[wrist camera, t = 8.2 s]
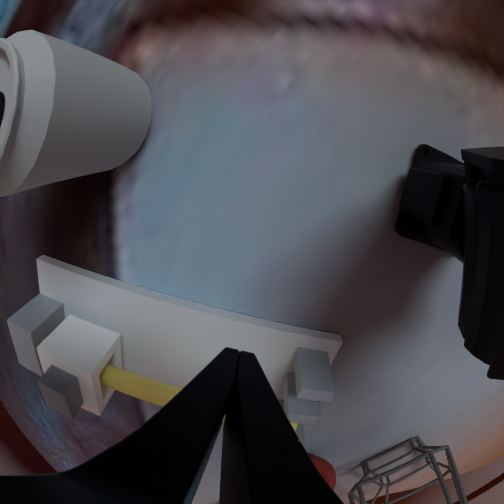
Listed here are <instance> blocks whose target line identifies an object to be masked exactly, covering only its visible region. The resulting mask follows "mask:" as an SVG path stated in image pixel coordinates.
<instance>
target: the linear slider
mask: <svg viewBox="0 0 504 504" xmlns="http://www.w3.org/2000/svg"><path fill="white" fill-rule="evenodd" d="M37 269H38V279H39V288H40V294H39V295H37V296H36V297H35V298H34V299H32V300H31V301H30V302H28V303H27V304H26V305H25V306H23V307H22V308H21V309H20V310H18V311H17V312H16V313H15V314H14V315H12V316H11V317H10V318H9V319H8V320H7V322H8V326H9V330H10V333H11V337H12V340H13V344H14V347H15V350H16V353H17V357H18V360H19V363H20V364H21V365H23V366H24V367H26V368H28V369H29V370H31V371H33V372H34V373H36V374H38V375H40V376H41V377H42V376H43V374H44V372H43V369H42V366H41V362H40V359H39V355H38V352H37V347H38V346H39V345H40V344H41V343H42V342H43V341H44V340H45V339H46V338H47V337H48V336H49V335H50V334H51V333H52V332H53V331H54V330H55V329H56V328H57V327H58V326H59V325H60V324H61V323H62V322H63V321H64V320H65V319H66V318H67V317H68V316H69V315H73V316H75V317H77V318H80V319H82V320H85V321H87V322H90V323H92V324H95V325H98V326H100V327H103V328H106V329H108V330H111V331H114V332H116V333H119V334H120V336H121V359H122V369H120V368H118V367H115V366H112V365H110V364H106V366H105V367H104V368H103V370H102V371H101V373H100V374H99V379H100V384H102V385H104V386H107V387H109V388H112V389H114V390H117V391H119V392H122V393H125V394H127V395H130V396H133V397H135V398H138V399H141V400H144V401H147V402H150V403H153V404H156V405H159V406H162V407H163V406H164V405H165V404H166V403H168V402H169V401H170V400H171V399H172V398H173V397H174V396H175V395H176V394H177V393H178V392H179V391H180V390H181V389H183V388H184V387H185V386H186V385H187V384H188V383H189V382H190V381H191V380H192V379H193V378H194V377H195V376H196V375H197V374H198V373H199V372H200V371H201V370H202V369H203V368H205V367H206V366H207V365H208V364H209V363H210V362H211V361H212V360H213V359H214V358H215V357H216V356H217V355H218V354H219V353H220V352H221V351H222V350H223V349H224V348H225V347H229V348H234V349H238V350H239V353H240V351H247V352H251V353H254V354H255V356H256V358H257V360H258V362H259V364H260V365H261V367H262V369H263V371H264V373H265V375H266V377H267V379H268V381H269V383H270V385H271V387H272V389H273V391H274V393H275V395H276V397H277V399H278V401H279V402H280V404H281V406H282V408H283V410H284V412H285V414H286V416H287V418H288V419H289V421H290V423H291V425H292V427H293V429H294V431H295V432H296V434H297V436H298V438H299V440H298V441H301V443H302V444H303V443H304V428H303V424H310V425H316V424H317V423H318V421H319V420H320V418H321V413H320V405H319V401H322V402H331V401H332V399H333V398H334V396H335V394H336V388H335V383H334V379H333V374H332V369H331V364H332V362H333V360H334V358H335V356H336V354H337V352H338V350H339V348H340V346H341V344H342V339H341V336H340V335H339V334H333V333H328V332H323V331H317V330H312V329H307V328H302V327H297V326H292V325H288V324H283V323H278V322H274V321H269V320H265V319H260V318H256V317H252V316H247V315H243V314H239V313H235V312H231V311H227V310H222V309H218V308H215V307H211V306H207V305H203V304H199V303H195V302H191V301H188V300H184V299H180V298H177V297H173V296H170V295H166V294H162V293H159V292H156V291H152V290H149V289H145V288H142V287H139V286H135V285H132V284H129V283H125V282H122V281H119V280H116V279H113V278H110V277H106V276H103V275H100V274H97V273H94V272H91V271H88V270H85V269H82V268H79V267H76V266H73V265H71V264H68V263H65V262H62V261H59V260H56V259H54V258H51V257H48V256H45V255H42V256H40V257H39V258H37ZM224 417H225V416H224ZM223 423H224V419H223Z"/></svg>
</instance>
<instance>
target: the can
mask: <svg viewBox="0 0 504 504" xmlns="http://www.w3.org/2000/svg"><path fill="white" fill-rule="evenodd" d="M151 116H152V100H151V97H150V93H149V90H148V86H147V85H146V84H145V82H144V81H143V80H142V78H141V77H140V76H139V74H137V73H135V72H134V71H132V70H130V69H128V68H126V67H124V66H122V65H120V64H118V63H116V62H113V61H111V60H109V59H107V58H104V57H102V56H100V55H97V54H95V53H93V52H90V51H88V50H85V49H83V48H80V47H78V46H75V45H73V44H70V43H68V42H65V41H62V40H60V39H57V38H54V37H51V36H48V35H45V34H42V33H39V32H36V31H33V30H27V31H21V32H17V33H15V34H13V35H12V36H10V37H8V38H7V39H4V38H0V197H2V196H8V195H11V194H15V193H18V192H21V191H25V190H28V189H32V188H35V187H39V186H43V185H46V184H50V183H54V182H58V181H62V180H66V179H71V178H75V177H79V176H84V175H88V174H93V173H98V172H103V171H108V170H111V169H114V168H116V167H118V166H120V165H122V164H124V163H125V162H126V161H127V160H128V159H130V158H131V157H132V156H133V155H134V154H135V153H136V152H137V151H138V149H139V147H140V146H141V144H142V142H143V141H144V139H145V138H146V135H147V132H148V129H149V125H150V122H151Z"/></svg>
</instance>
